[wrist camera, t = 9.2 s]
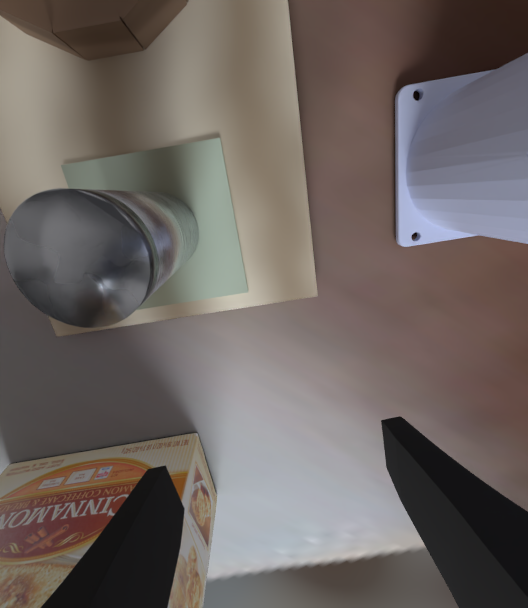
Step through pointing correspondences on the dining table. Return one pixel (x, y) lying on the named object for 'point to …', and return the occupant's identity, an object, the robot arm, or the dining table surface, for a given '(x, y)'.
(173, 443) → the coffeecake box
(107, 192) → the pin
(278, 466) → the dining table surface
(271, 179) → the board
